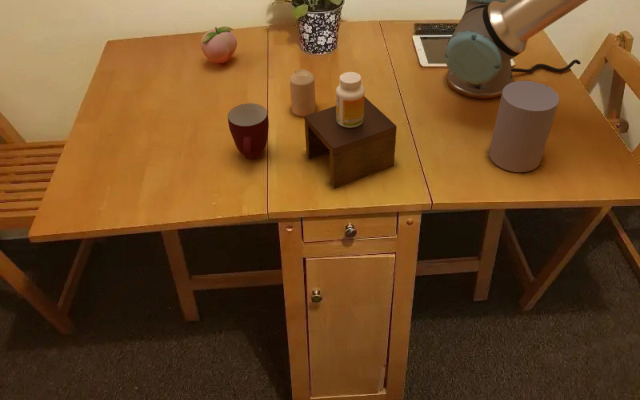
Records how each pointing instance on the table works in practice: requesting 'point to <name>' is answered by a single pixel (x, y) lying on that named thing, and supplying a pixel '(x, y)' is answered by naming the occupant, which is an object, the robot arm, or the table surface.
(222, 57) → the decorative fruit
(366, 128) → the shelf
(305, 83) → the candle
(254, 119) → the mug
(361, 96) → the supplement bottle
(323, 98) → the table surface
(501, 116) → the container
